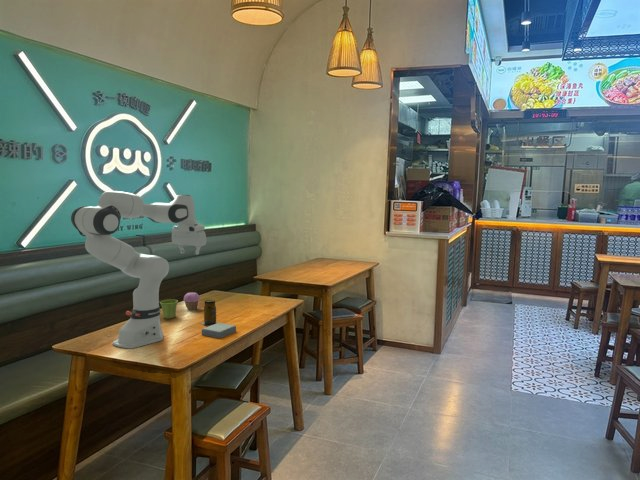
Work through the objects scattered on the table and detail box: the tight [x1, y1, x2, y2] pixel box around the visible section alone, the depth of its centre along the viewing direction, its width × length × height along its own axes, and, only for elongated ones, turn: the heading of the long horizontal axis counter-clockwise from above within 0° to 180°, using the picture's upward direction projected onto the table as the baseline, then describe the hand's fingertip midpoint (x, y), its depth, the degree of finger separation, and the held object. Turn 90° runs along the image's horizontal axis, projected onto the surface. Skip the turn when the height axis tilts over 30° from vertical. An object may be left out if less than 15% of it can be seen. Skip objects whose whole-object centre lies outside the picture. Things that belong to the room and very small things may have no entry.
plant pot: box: [159, 299, 179, 319], centre depth 250 cm, size 9×9×9 cm
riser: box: [201, 322, 237, 339], centre depth 223 cm, size 12×11×3 cm
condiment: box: [200, 299, 218, 327], centre depth 238 cm, size 7×8×12 cm
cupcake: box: [183, 292, 201, 311], centre depth 266 cm, size 9×9×10 cm
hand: (190, 253), depth 235 cm, fingers open, 8 cm apart
